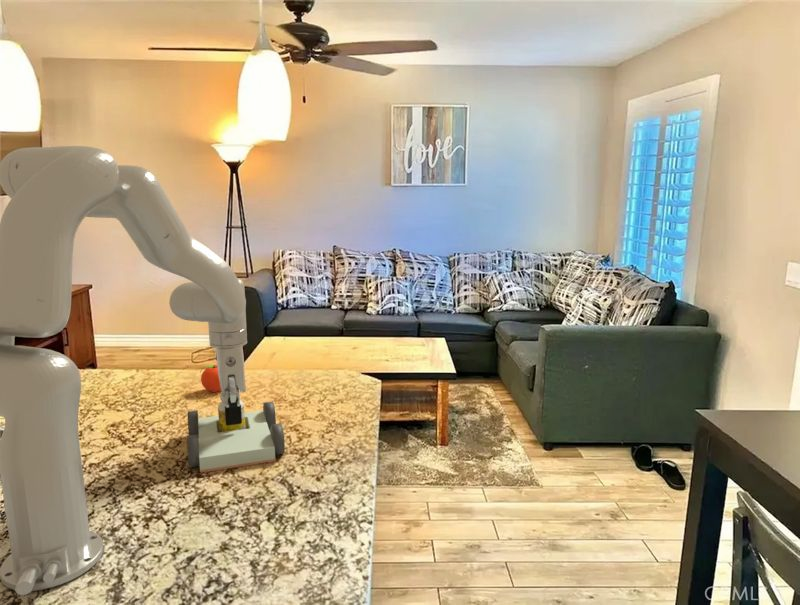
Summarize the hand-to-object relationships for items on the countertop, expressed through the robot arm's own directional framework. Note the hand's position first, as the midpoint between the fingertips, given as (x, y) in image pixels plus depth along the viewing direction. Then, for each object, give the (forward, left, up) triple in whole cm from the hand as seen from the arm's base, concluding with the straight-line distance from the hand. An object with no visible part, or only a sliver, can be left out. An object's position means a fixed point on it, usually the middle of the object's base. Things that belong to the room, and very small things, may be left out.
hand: (232, 416), depth 122 cm
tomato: (+32, +3, -5) cm, 33 cm away
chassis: (-4, 0, -5) cm, 6 cm away
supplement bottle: (0, 0, -5) cm, 5 cm away
